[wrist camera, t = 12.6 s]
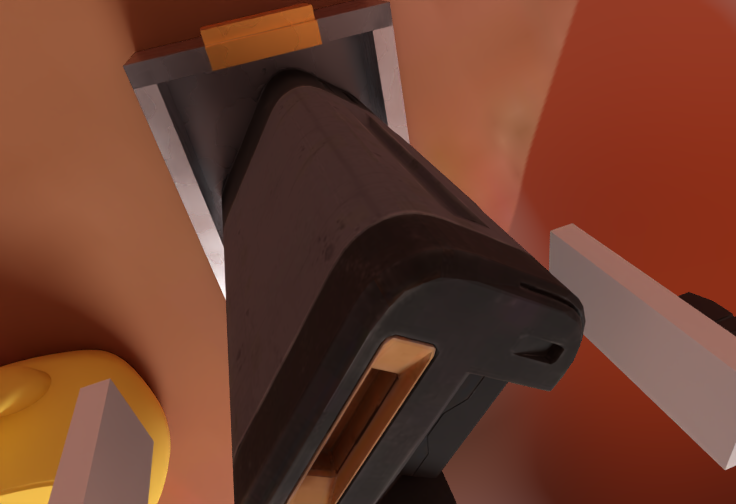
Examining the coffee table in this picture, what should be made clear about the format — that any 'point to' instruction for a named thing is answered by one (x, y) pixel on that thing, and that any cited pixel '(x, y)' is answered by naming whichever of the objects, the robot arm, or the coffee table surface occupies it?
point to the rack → (255, 90)
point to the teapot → (64, 418)
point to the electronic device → (367, 307)
